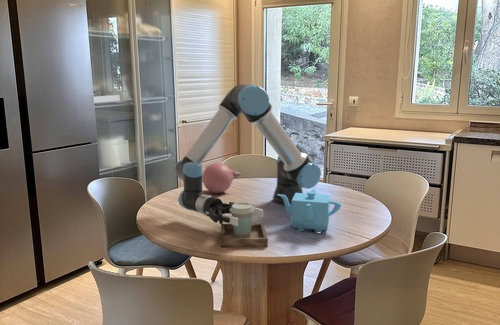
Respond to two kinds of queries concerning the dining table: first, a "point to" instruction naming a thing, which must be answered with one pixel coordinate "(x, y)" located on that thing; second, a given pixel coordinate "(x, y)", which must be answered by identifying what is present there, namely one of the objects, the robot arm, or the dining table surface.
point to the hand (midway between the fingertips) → (250, 217)
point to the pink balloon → (218, 177)
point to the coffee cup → (242, 219)
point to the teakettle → (310, 210)
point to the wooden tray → (255, 240)
